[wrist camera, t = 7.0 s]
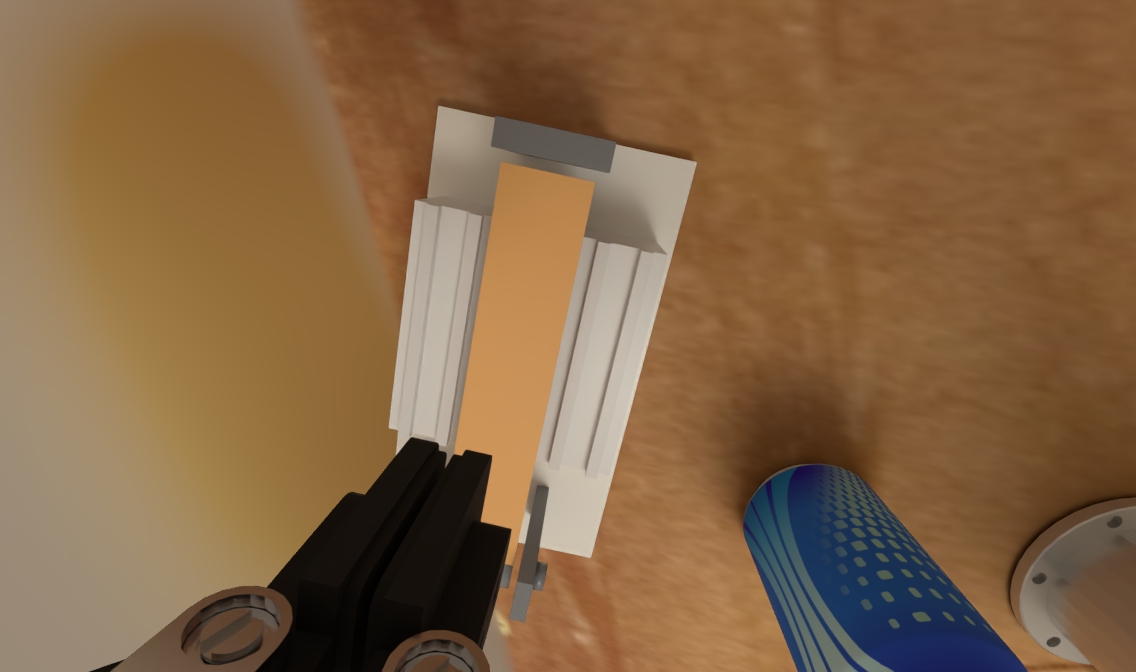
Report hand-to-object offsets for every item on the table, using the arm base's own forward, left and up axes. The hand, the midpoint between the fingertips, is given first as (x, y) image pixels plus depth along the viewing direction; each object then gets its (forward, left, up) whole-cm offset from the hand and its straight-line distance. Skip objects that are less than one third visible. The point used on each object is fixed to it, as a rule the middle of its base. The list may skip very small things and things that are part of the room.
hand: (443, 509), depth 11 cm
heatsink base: (-3, +3, -22) cm, 22 cm away
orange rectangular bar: (-3, +3, -15) cm, 16 cm away
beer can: (-20, -10, -22) cm, 31 cm away
